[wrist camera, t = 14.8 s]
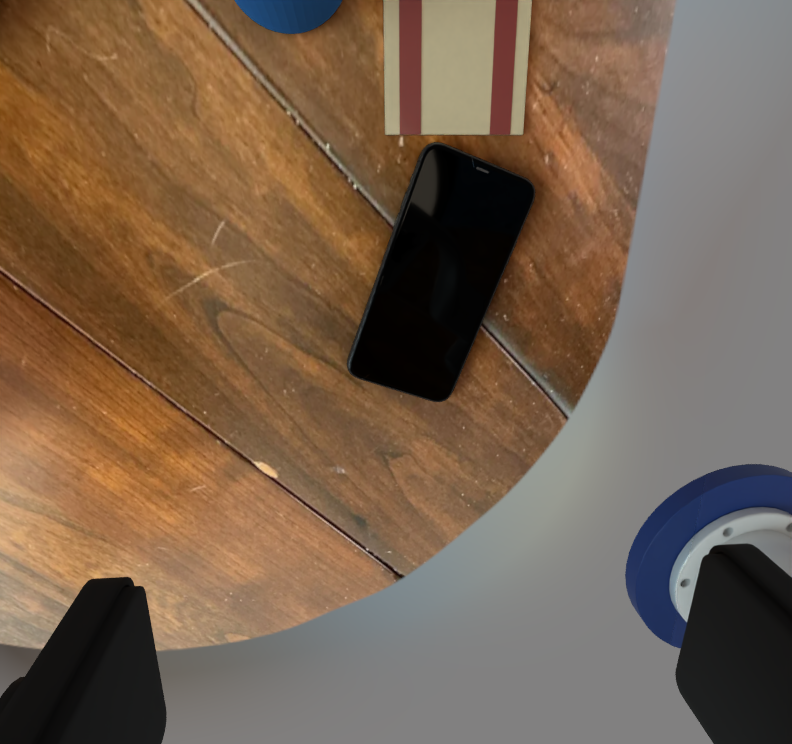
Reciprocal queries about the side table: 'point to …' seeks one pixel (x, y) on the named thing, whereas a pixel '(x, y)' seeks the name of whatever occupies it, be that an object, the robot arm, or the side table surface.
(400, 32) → the tea towel
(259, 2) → the beverage can
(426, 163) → the smartphone
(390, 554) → the side table surface
